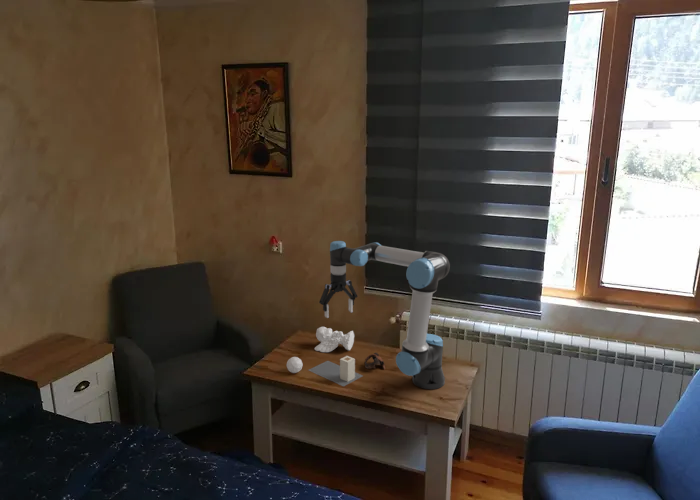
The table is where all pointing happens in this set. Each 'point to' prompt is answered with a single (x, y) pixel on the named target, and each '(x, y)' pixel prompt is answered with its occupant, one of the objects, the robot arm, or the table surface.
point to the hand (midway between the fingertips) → (338, 314)
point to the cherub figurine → (333, 339)
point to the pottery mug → (376, 359)
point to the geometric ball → (294, 364)
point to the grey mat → (332, 373)
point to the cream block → (347, 368)
